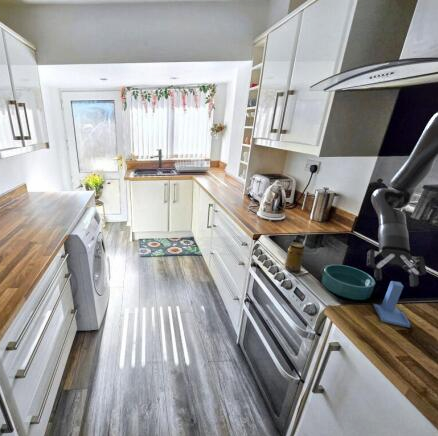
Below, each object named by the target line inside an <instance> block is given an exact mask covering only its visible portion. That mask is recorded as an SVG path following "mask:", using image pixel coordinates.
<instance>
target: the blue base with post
mask: <svg viewBox="0 0 438 436" xmlns="http://www.w3.org/2000/svg"><path fill="white" fill-rule="evenodd" d="M403 289H404V285H403V284H402V282H400V281H394V280H391V281H390V282H389V285H388V288H387V291H386V293H385V295H384V298H383V300H382V302H381V305H380V304H376V303H373V308H374V310H375V311H376V313H377V315H378V317H379V319H380V321H381V322H383V323H387V324H392V325H394V326H399V327H404V328H409V329H410V328H411V322H410V321H409V319H408V318H407V316H406V315H405V313H404V312H403V311H401V310H400V309H398V308H396V306H397V304H398V301H399V299H400V296H401V294H402V291H403Z"/></svg>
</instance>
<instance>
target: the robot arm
mask: <svg viewBox="0 0 438 436" xmlns="http://www.w3.org/2000/svg"><path fill="white" fill-rule="evenodd" d="M437 158H438V111H436V113H434V114H433V116H432V117H431V118H430V119H429V121H428V123H427V124H426V126H425V128H424V130H423V132H422V133H421V135H420V137H419V139H418V141H417V143H416V144H415V145H414V148H413V150H411V153H410V155H409V156H408V158H407V159H406V160H405V162H404V164H402V166H400V168H399V170H397V172H396V173H395V174H394V176H392V178H391V179H390V180H389V181H390V182H389V185H390V187H391V188H385V187H381V188H377V189H375V190H374V191H373V192H372V193H371V196H370V201H371V204H372V207H373V209H374V210H375V213H376V215H377V218H378V231H377V238H378V251H377V250H375V249H370V250H368V251H367V255H366V267H368V268H371V269H373V278H374V279H375V281H379V282H380V281H382V280H383V270H382V267H384V266H385V265H387V266H388V267H395V268H401V269H403V271H405V272H407V274H408V275H409V276H408V278H409V279H408V281H409V286H410V287H412V288H415V287H417V286H419V284H420V282H419V281H420V280H419V276H420V277H421V276H424V275H426V274H427V269H426V262H425V258H424V256H422V255H420V256H412V255H411V254H410V252H411V248H410V240H409V239H410V238H409V230H408V228H407V227H408V226H407V216H406V214H405V212H404V211H402V210H399V209H404V208H405V207H407V206H409V205H410V204H411V201H412V199H413V196H414V194H415V192H416V190H417V188H418V187H419V186H420V184H421V183H422V182H423V181H424V180H425V179H426V178H427V177H428V176H429V175H430V174H431V172H432V171H433V168H434V165H435V161H436V159H437ZM377 256H378V257H379V259H380V261H379V262H377V263H375V258H376V257H377ZM411 261H412V263H413V264H412V263H411ZM414 265H415V266H414Z"/></svg>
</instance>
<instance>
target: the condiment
mask: <svg viewBox="0 0 438 436" xmlns="http://www.w3.org/2000/svg"><path fill="white" fill-rule="evenodd" d="M304 255H305V245H304V244H303V243H300V242H296V241H295V242H291V243H290V244H289V247H288V248H287V253H286V257H285V261H284V262H285V263H284V264H282V265H280V267H281V269H284V270H285V271H287V272H289V273H291V274H292V275H295V276H301V275H304V274H307V273H309V271H308V270H305V269H304V268H302V263H303V260H304V259H303V258H304Z"/></svg>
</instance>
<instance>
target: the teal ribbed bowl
mask: <svg viewBox="0 0 438 436" xmlns="http://www.w3.org/2000/svg"><path fill="white" fill-rule="evenodd" d="M321 284H322V286H324V288H325V289H327V290H328V291H329V292H332V293H333V294H335V295H337V296H340V297H342V298H345V299H349V300H354V301H355V300H356V301H362V300H363V301H365V300H367V299H370V298H371V296H372V294H373V291H374V289H375V287H376V286H375V285H376V279H375V278H374V277H372V276H371V275H370V274H369V273H367V272H365V271H363V270H361V269H358V268H356V267H353V266H349V265H344V264H336V263H335V264H328V265H326V266H325V267H324V270H323V273H322V277H321Z"/></svg>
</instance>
